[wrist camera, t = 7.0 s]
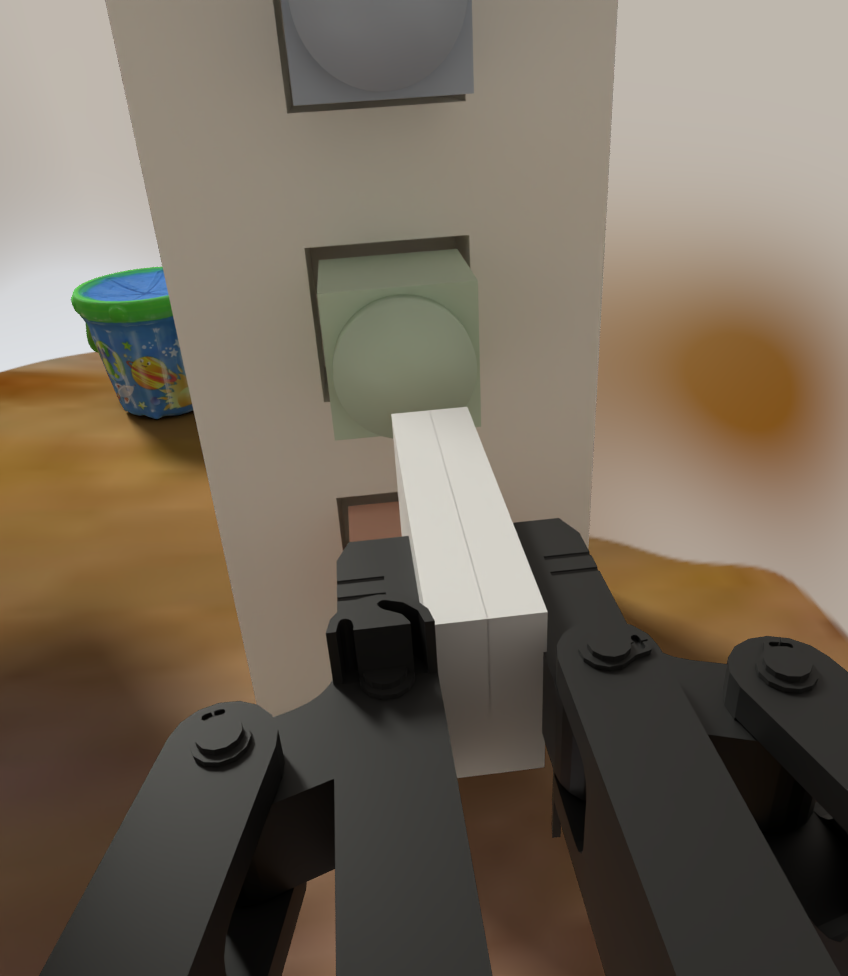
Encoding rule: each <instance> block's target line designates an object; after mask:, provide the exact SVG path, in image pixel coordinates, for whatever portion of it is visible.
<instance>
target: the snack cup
mask: <svg viewBox="0 0 848 976" xmlns="http://www.w3.org/2000/svg"><path fill="white" fill-rule="evenodd" d="M71 301H72V305H73V307H74V309H75V311H76V312H77V313H78V314H80V316H81V317H82V318H83V319H84V321H85V322H86V332H87V338H88V343H89V345H90V347H91V348H92V349H93V350H94V351H95V352H98V353H99V355H100V357H101V359H102V361H103V364H104V366H105V369H106V371H107V374H108V376H109V378H110V381H111V383H112V385H113V387H114V390H115V391H116V394H117V397H118V398H119V401H120V403H121V405H122V406H123V408H124V410H125V411H128V412H130V413H132V414H135V415H140V416H141V415H146V416H148V417H151V418H154V419H159V418H161V417H163V416H174V415H181V414H184V413H188V412H190V411H193V406H192V401H191V397H190V392H189V387H188V383H187V378H186V373H185V369H184V364H183V359H182V355H181V350H180V345H179V341H178V336H177V332H176V327H175V322H174V318H173V313H172V308H171V304H170V299H169V294H168V290H167V285H166V280H165V276H164V271H163V267H152V268H143V269H134V270H128V271H123V272H118V273H114V274H109V275H105V276H102V277H98V278H95V279H92V280H90V281H87V282H85V283H83V284H81V285H79V286H78V287H77V288H76V289H75V290H74V292H73V295H72V297H71Z"/></svg>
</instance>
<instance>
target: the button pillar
mask: <svg viewBox="0 0 848 976" xmlns="http://www.w3.org/2000/svg"><path fill="white" fill-rule="evenodd" d="M105 2H106V6H107V10H108V16H109V20H110V25H111V30H112V34H113V39H114V44H115V48H116V52H117V57H118V62H119V67H120V71H121V76H122V81H123V85H124V90H125V95H126V99H127V104H128V109H129V113H130V118H131V123H132V127H133V132H134V136H135V141H136V146H137V150H138V155H139V160H140V164H141V168H142V174H143V178H144V183H145V188H146V192H147V196H148V201H149V206H150V210H151V215H152V220H153V225H154V229H155V234H156V238H157V243H158V248H159V253H160V257H161V262H162V267H163V271H164V276H165V280H166V285H167V290H168V294H169V299H170V304H171V308H172V313H173V318H174V322H175V327H176V332H177V336H178V341H179V345H180V350H181V355H182V359H183V364H184V369H185V373H186V378H187V383H188V387H189V392H190V397H191V401H192V406H193V411H194V415H195V420H196V424H197V429H198V434H199V438H200V443H201V448H202V452H203V457H204V462H205V466H206V471H207V476H208V480H209V485H210V489H211V494H212V499H213V503H214V508H215V513H216V517H217V522H218V527H219V531H220V536H221V541H222V545H223V550H224V554H225V559H226V564H227V568H228V573H229V578H230V582H231V587H232V592H233V596H234V601H235V606H236V610H237V615H238V620H239V624H240V629H241V633H242V638H243V643H244V647H245V652H246V657H247V661H248V666H249V671H250V675H251V680H252V685H253V689H254V694H255V698H256V703H257V705H259V706H260V707H262V708H263V709H265V710H266V711H267V712H269V713H270V714H272V716H273V717H275V716H278V715H281V714H283V713H286V712H289V711H291V710H294V709H296V708H298V707H300V706H302V705H304V704H307V703H309V702H310V701H312V700H313V699H314V698H316V697H317V696H318V695H320V694H321V693H322V692H323V691H324V690H325V689H326V688H327V687H328V685H329V684H330V683H331V681H332V672H331V666H330V659H329V652H328V646H327V639H326V630H327V627H328V624H329V621H330V619H331V618H332V617H333V616H334V615H335V614H336V613H337V560H338V558H339V556H340V555H341V553H342V552H343V550H344V549H345V547H346V546H347V544H348V543H349V542H350V541H349V516H348V506H357V505H367V504H377V503H386V502H396V501H399V499H398V487H397V475H396V464H395V452H394V440H393V439H392V438H387V437H383V436H378V437H368V438H357V439H347V440H336V441H335V437H334V429H333V421H332V413H331V405H330V397H329V388H328V380H327V372H326V364H325V356H324V348H323V340H322V332H321V323H320V315H319V307H318V299H317V282H318V263H319V260H325V259H337V258H350V257H362V256H375V255H387V254H399V253H412V252H424V251H436V250H449V249H458V251H459V252H460V254H461V255H462V257H463V258H464V260H465V261H466V263H467V265H468V266H469V268H470V269H471V271H472V272H473V274H474V275H475V277H476V278H477V280H478V308H479V352H480V396H481V427H475V428H476V430H477V433H478V435H479V438H480V440H481V443H482V446H483V448H484V451H485V453H486V456H487V458H488V461H489V463H490V466H491V469H492V471H493V474H494V476H495V479H496V481H497V484H498V486H499V489H500V492H501V494H502V497H503V499H504V502H505V504H506V507H507V509H508V512H509V515H510V517H511V520H512V522H513V523H515V522H524V521H534V520H543V519H553V518H560V519H561V520H562V521H564V522H565V523H567V524H568V525H569V526H571V527H572V528H574V529H575V530H576V531H578V532H579V533H580V535H581V537H582V539H583V540H584V542H585V544H586V546H587V548H588V545H589V525H590V508H591V489H592V471H593V470H592V469H593V452H594V433H595V415H596V397H597V378H598V360H599V340H600V323H601V322H600V321H601V304H602V286H603V267H604V248H605V230H606V212H607V193H608V175H609V156H610V137H611V119H612V101H613V83H614V64H615V44H616V26H617V9H618V0H472V31H473V75H474V93H472V94H457V95H443V96H428V97H414V98H399V99H384V100H370V101H355V102H341V103H326V104H311V105H297V106H294V105H293V97H292V89H291V81H290V72H289V64H288V56H287V48H286V40H285V32H284V24H283V16H282V7H281V0H105Z"/></svg>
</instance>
